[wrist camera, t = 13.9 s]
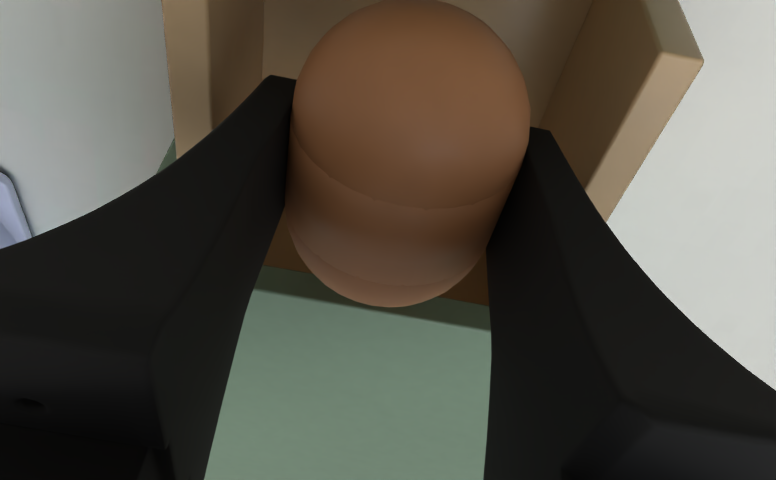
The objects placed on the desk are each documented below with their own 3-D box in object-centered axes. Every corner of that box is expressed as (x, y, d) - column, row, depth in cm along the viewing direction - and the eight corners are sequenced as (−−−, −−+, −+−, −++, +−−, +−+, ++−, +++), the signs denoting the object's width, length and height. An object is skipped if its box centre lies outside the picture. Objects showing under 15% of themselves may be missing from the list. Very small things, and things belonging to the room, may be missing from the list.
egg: (466, 218, 16) (464, 364, 13) (299, 186, 16) (260, 328, 13) (556, -20, 11) (582, 126, 9) (323, -70, 11) (270, 63, 8)
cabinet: (206, 71, 19) (109, 264, 14) (579, 146, 20) (613, 354, 15) (218, 325, 29) (162, 492, 24) (466, 368, 30) (464, 539, 25)
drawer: (191, -795, 8) (-57, -1083, 5) (931, -586, 9) (1275, -682, 5) (220, 172, 21) (161, 315, 17) (528, 230, 22) (540, 382, 18)
